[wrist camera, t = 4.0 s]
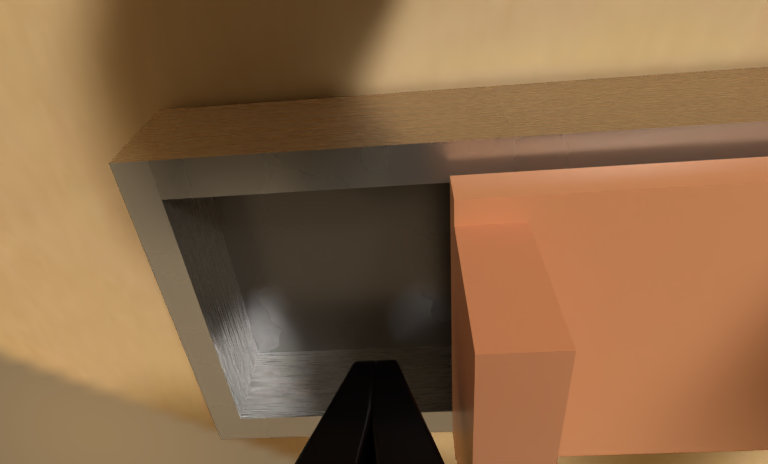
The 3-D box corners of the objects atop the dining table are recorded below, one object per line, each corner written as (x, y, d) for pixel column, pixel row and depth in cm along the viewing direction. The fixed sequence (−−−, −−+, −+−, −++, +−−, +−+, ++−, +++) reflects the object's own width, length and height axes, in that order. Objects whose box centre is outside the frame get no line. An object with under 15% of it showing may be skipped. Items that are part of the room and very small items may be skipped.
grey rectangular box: (811, 64, 11) (908, 112, 9) (708, 345, 15) (756, 421, 13) (159, 109, 12) (109, 163, 10) (242, 365, 16) (220, 439, 14)
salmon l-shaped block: (880, 149, 9) (1125, 295, 6) (750, 419, 13) (858, 587, 10) (449, 176, 9) (475, 325, 6) (452, 429, 13) (469, 594, 10)
